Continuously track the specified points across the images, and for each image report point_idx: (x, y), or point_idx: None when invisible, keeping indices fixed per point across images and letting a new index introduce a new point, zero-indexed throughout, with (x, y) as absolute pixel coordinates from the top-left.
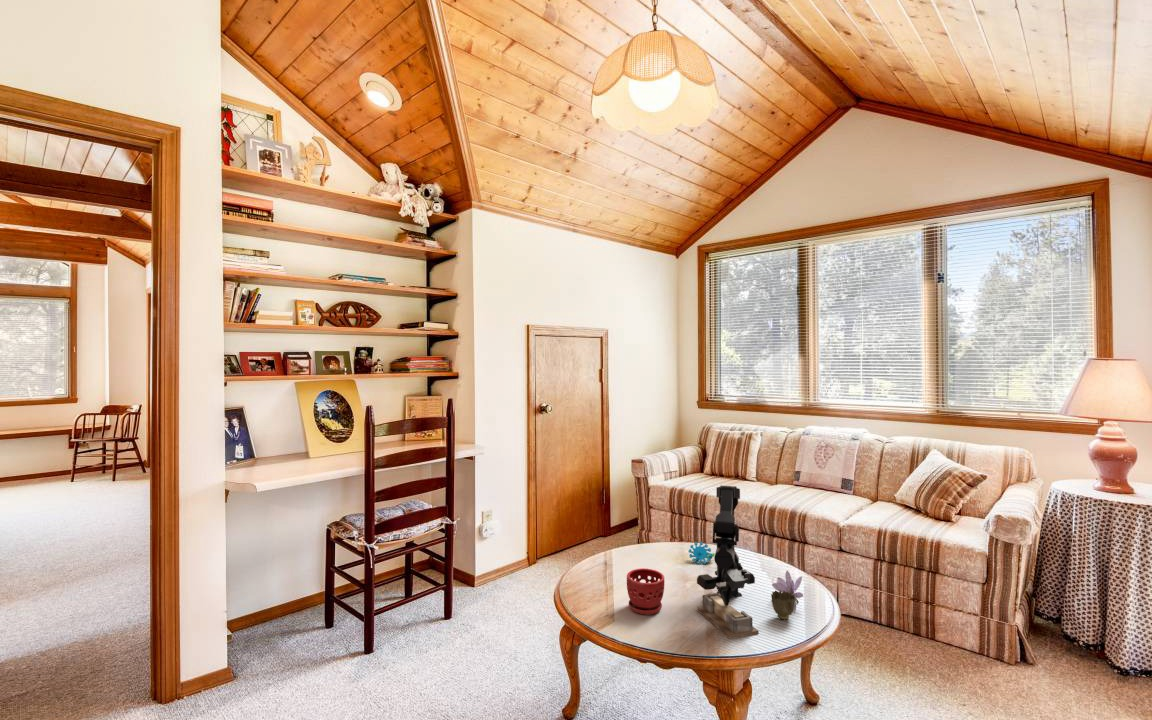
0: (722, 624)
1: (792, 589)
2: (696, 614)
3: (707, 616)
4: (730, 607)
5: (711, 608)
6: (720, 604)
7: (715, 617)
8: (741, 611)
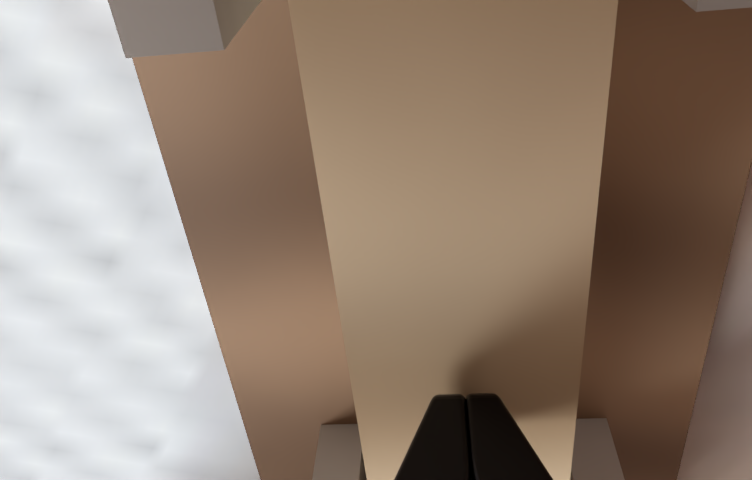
0: (691, 24)
1: None
2: (748, 446)
3: (697, 356)
4: (404, 324)
5: (593, 472)
6: (552, 472)
7: (624, 291)
8: (194, 49)
